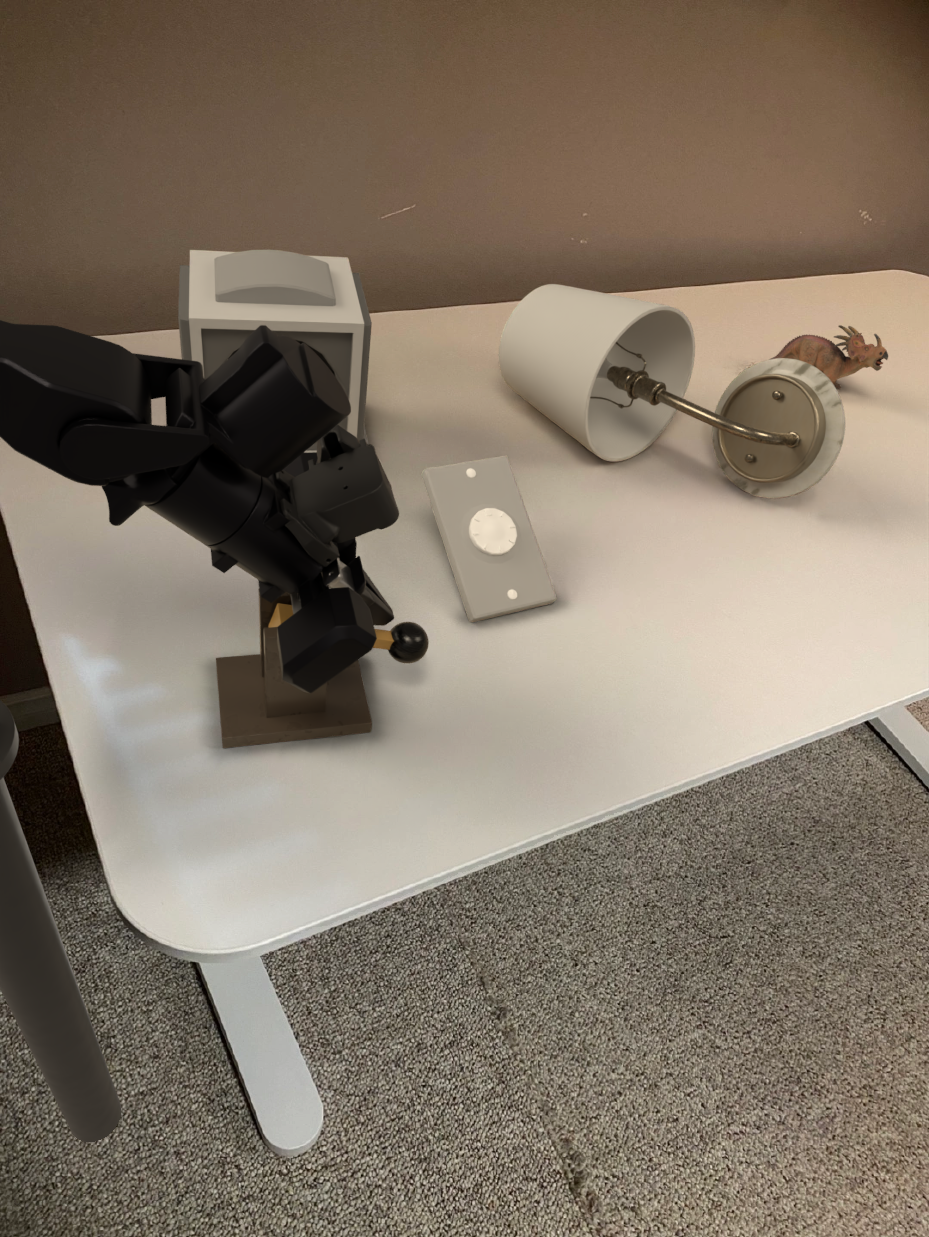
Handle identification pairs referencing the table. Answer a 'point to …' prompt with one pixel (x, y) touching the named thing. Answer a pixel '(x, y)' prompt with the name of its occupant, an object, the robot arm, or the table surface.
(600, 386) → the light fixture
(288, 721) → the switch bracket
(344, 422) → the alarm clock
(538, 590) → the light switch
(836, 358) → the dinosaur figurine
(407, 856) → the table surface
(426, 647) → the lever
